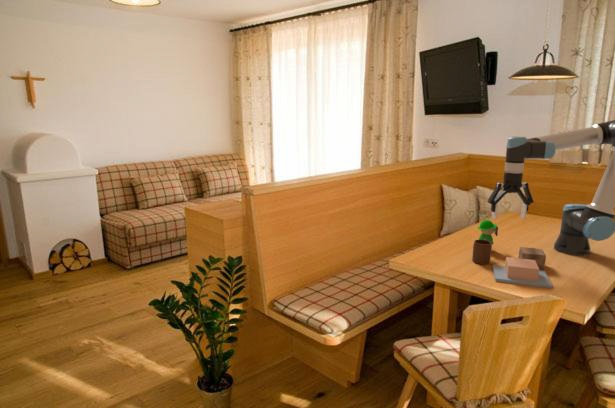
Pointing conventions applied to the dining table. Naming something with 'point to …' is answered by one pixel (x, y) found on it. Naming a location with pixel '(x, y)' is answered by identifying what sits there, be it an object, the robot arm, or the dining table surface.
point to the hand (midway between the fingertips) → (508, 218)
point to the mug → (482, 251)
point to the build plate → (519, 281)
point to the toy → (487, 230)
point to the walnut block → (533, 256)
